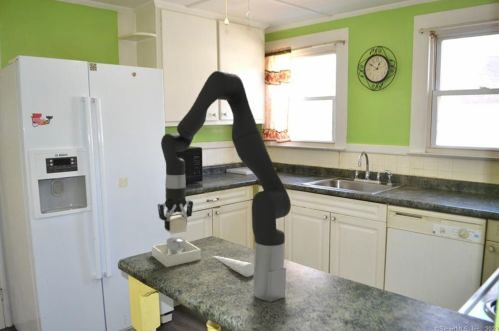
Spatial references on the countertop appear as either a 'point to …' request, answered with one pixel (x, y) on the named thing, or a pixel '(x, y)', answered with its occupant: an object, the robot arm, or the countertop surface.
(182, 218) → the carton
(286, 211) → the robot arm
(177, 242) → the tin can
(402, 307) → the countertop surface
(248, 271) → the unicorn horn
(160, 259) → the box
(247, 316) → the countertop surface
